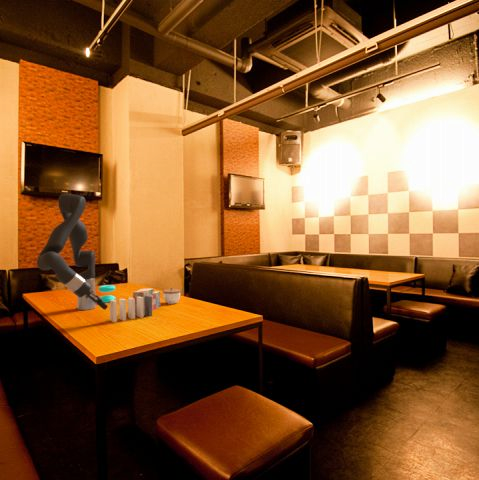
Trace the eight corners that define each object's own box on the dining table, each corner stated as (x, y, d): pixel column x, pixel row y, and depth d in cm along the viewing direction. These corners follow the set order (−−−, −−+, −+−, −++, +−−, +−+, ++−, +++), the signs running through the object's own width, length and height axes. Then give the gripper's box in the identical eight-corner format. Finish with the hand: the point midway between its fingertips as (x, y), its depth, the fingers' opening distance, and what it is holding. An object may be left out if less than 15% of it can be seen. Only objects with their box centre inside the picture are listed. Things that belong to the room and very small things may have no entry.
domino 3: (128, 317, 168) (128, 297, 168) (131, 316, 169) (131, 297, 169) (131, 319, 164) (131, 299, 164) (135, 318, 165) (134, 298, 165)
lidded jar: (160, 302, 206) (160, 287, 206) (175, 300, 212) (175, 286, 212) (167, 305, 197) (167, 289, 197) (183, 303, 204) (183, 288, 204)
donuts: (118, 284, 215) (110, 287, 205) (118, 300, 215) (110, 303, 205) (103, 284, 217) (95, 287, 207) (104, 300, 217) (95, 302, 207)
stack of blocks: (150, 306, 195) (150, 285, 195) (160, 306, 194) (160, 286, 193) (133, 315, 173) (132, 291, 173) (144, 315, 172) (143, 291, 172)
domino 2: (119, 318, 165) (119, 298, 165) (122, 318, 166) (122, 298, 166) (122, 320, 161) (122, 300, 161) (126, 320, 162) (126, 299, 162)
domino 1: (110, 320, 162) (109, 300, 162) (113, 319, 163) (113, 299, 163) (113, 322, 158) (113, 301, 158) (116, 321, 159) (116, 301, 159)
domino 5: (145, 314, 173) (144, 295, 173) (148, 314, 174) (147, 295, 174) (149, 316, 169) (148, 296, 169) (152, 315, 170) (151, 296, 170)
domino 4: (136, 316, 170) (136, 296, 170) (139, 315, 171) (139, 296, 171) (140, 317, 167) (140, 298, 167) (143, 317, 168) (143, 297, 168)
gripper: (88, 280, 147) (116, 303, 155) (80, 277, 157) (107, 299, 165) (75, 293, 144) (104, 316, 152) (68, 289, 154) (96, 312, 162)
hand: (105, 308), depth 158 cm, fingers closed
